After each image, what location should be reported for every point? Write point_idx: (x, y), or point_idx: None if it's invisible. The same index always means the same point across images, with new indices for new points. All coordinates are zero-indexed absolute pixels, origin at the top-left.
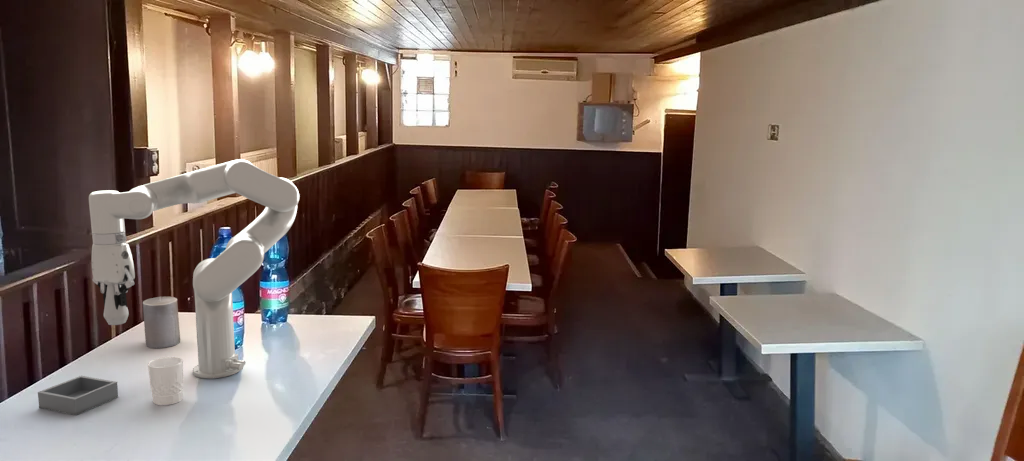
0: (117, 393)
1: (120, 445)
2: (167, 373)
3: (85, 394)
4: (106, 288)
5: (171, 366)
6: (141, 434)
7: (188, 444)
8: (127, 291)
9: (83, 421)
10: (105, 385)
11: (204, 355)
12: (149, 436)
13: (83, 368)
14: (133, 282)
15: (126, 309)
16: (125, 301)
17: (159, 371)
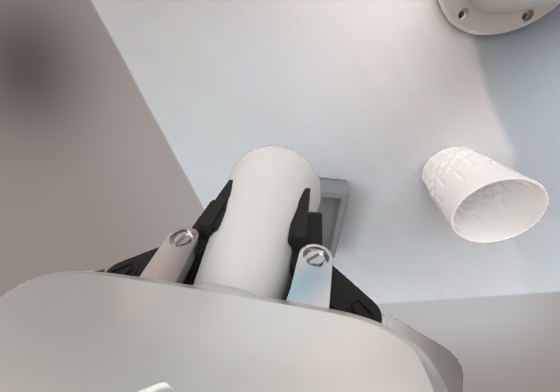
0: (346, 184)
1: (448, 287)
2: (504, 226)
3: (335, 243)
4: (192, 279)
5: (525, 230)
6: (462, 266)
7: (548, 278)
8: (331, 255)
9: (356, 251)
10: (339, 211)
11: (540, 5)
12: (477, 269)
13: (163, 79)
14: (457, 380)
15: (314, 189)
16: (321, 224)
17: (488, 235)
